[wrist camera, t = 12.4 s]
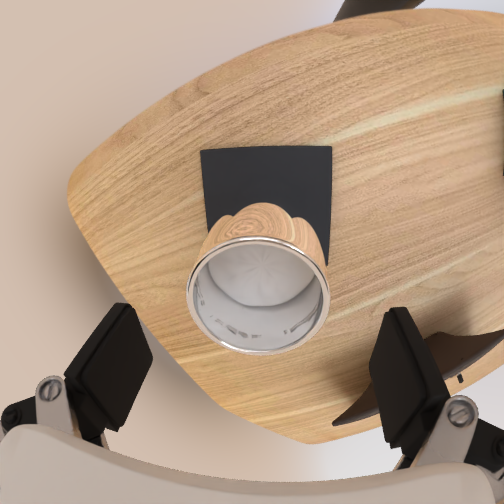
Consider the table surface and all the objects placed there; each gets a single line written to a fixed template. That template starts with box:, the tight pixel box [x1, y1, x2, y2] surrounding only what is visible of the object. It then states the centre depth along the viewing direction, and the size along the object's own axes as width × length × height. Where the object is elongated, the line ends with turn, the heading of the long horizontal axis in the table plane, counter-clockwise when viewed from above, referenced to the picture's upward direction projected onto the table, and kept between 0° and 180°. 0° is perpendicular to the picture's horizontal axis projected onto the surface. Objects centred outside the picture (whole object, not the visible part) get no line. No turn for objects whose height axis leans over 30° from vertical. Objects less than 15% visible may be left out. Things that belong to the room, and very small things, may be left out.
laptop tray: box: [332, 329, 504, 426], centre depth 30 cm, size 23×23×9 cm
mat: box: [200, 146, 332, 266], centre depth 26 cm, size 12×12×1 cm
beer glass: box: [186, 178, 331, 356], centre depth 19 cm, size 7×7×15 cm
